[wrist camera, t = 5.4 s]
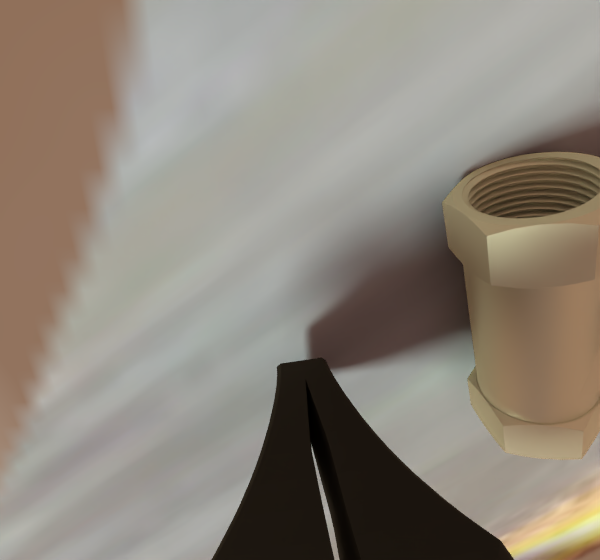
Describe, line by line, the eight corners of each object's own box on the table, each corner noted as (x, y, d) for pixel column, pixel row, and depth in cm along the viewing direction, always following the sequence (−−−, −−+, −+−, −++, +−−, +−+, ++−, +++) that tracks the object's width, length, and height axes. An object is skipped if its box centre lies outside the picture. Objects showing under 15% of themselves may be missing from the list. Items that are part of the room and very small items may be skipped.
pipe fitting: (663, 92, 12) (423, 184, 12) (849, 121, 8) (515, 250, 8) (632, 318, 16) (456, 387, 16) (746, 397, 13) (526, 484, 13)
